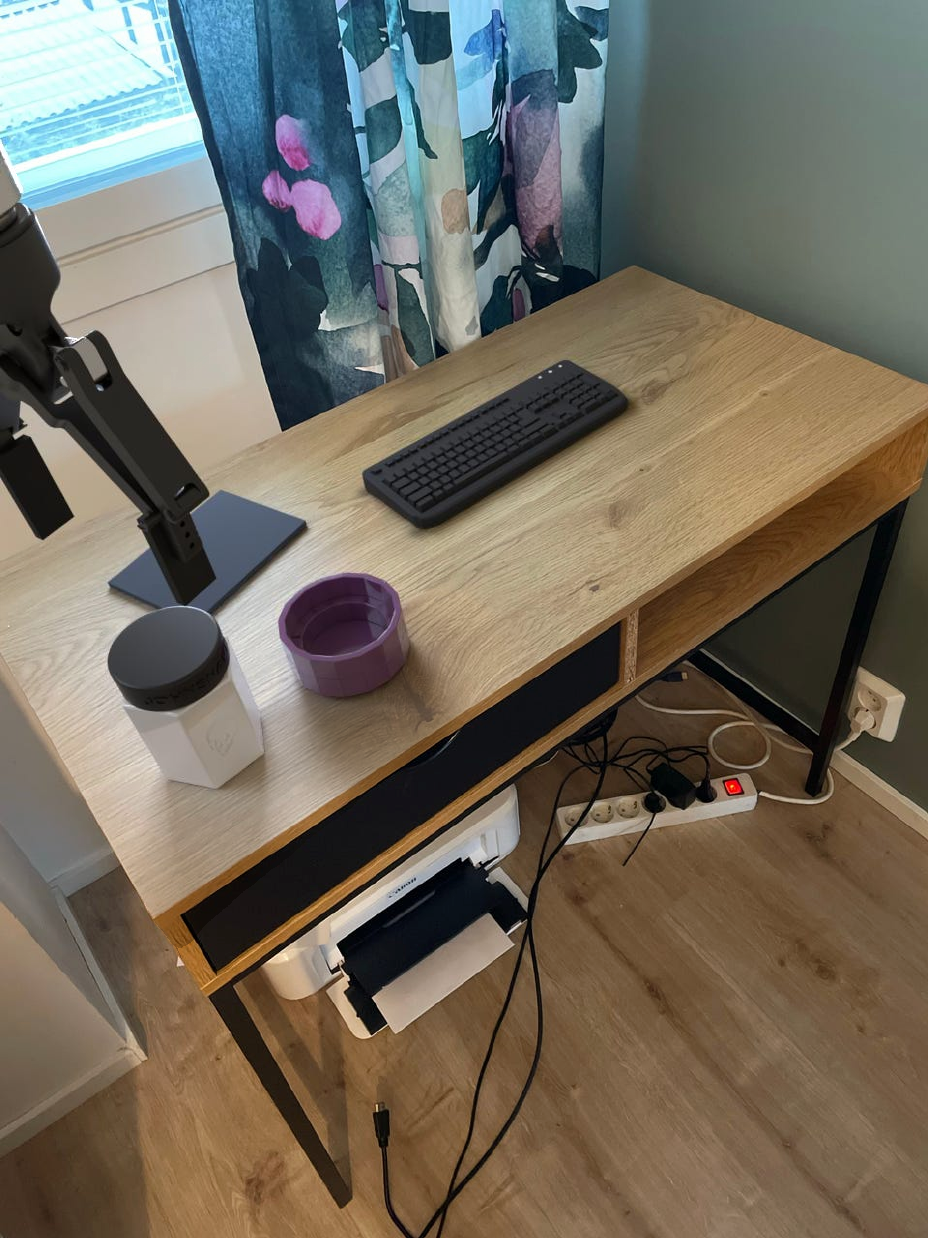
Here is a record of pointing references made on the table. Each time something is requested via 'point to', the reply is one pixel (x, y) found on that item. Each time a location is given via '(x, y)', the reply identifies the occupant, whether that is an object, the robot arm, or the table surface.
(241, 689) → the jar
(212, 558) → the placemat
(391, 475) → the keyboard
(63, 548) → the table surface
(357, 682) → the bowl
